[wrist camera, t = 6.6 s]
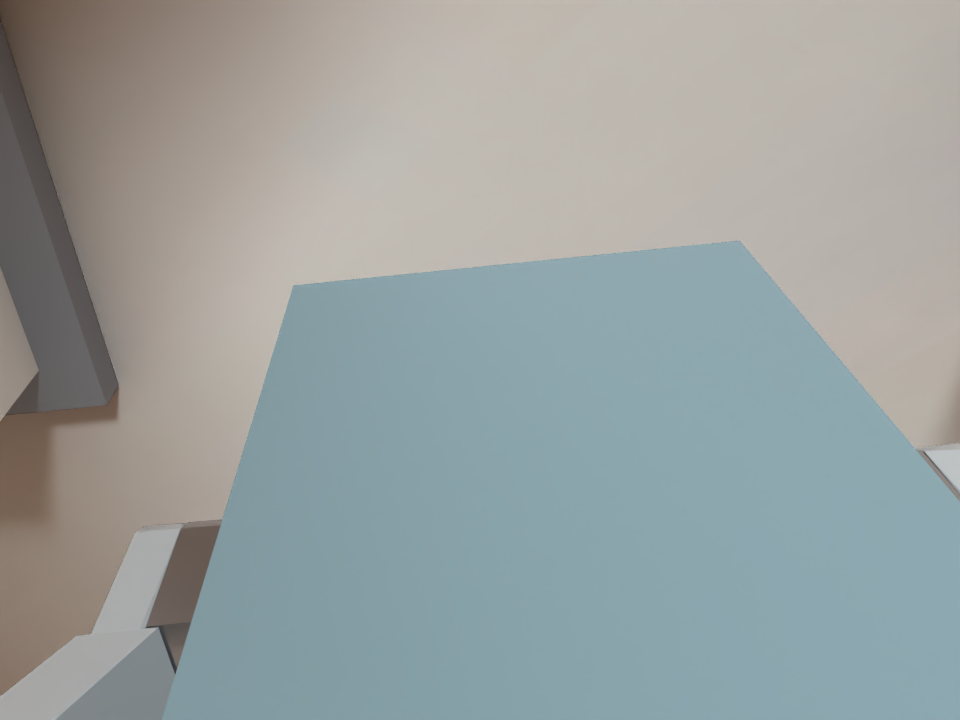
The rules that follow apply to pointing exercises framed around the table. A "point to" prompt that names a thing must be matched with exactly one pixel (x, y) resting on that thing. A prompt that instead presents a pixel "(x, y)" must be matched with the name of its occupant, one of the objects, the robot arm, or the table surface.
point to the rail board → (40, 279)
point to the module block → (573, 510)
